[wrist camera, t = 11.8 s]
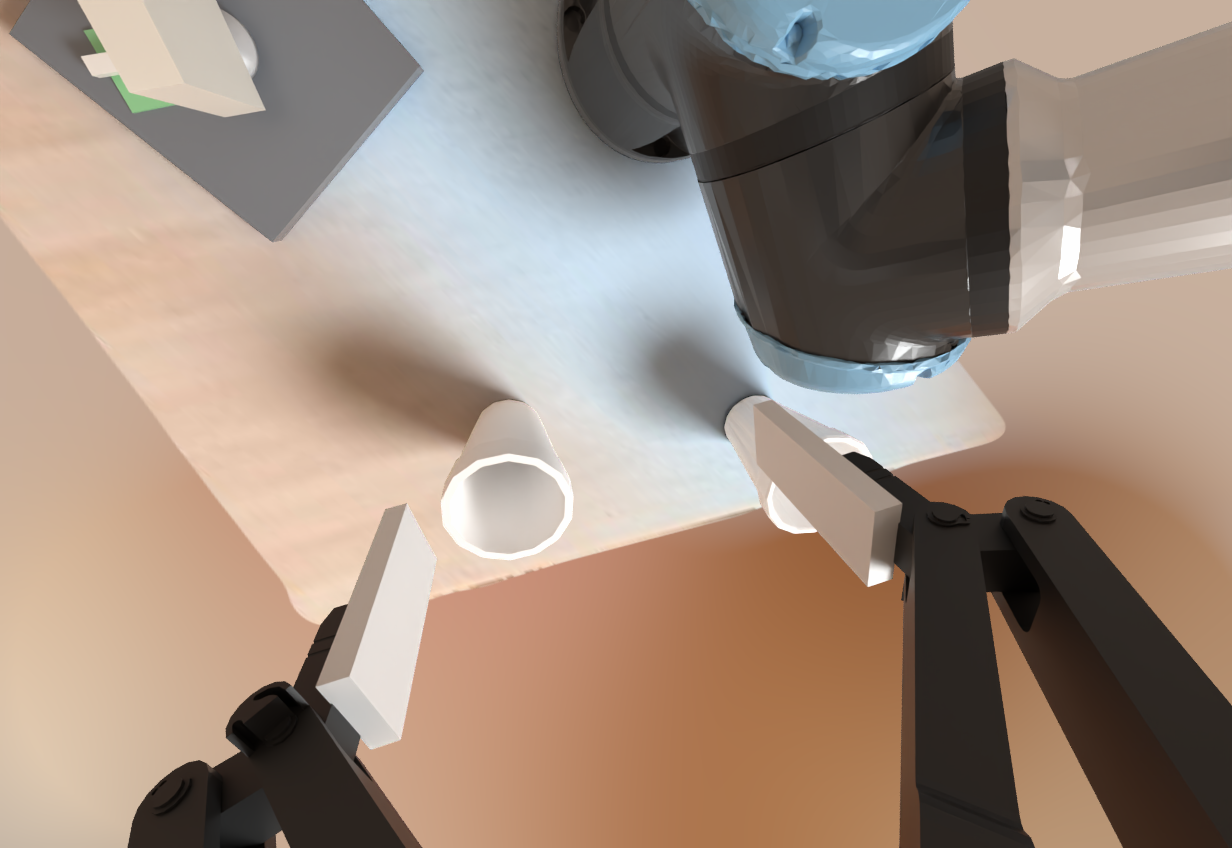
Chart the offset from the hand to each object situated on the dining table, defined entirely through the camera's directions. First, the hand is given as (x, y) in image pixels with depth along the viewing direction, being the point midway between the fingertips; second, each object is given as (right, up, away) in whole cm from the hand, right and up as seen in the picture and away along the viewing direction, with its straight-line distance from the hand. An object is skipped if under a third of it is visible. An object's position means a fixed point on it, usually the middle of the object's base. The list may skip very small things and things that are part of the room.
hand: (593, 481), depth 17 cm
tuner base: (-23, +26, +12) cm, 37 cm away
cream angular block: (-25, +24, +11) cm, 37 cm away
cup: (+15, +3, +33) cm, 37 cm away
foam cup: (-10, +2, +28) cm, 29 cm away
